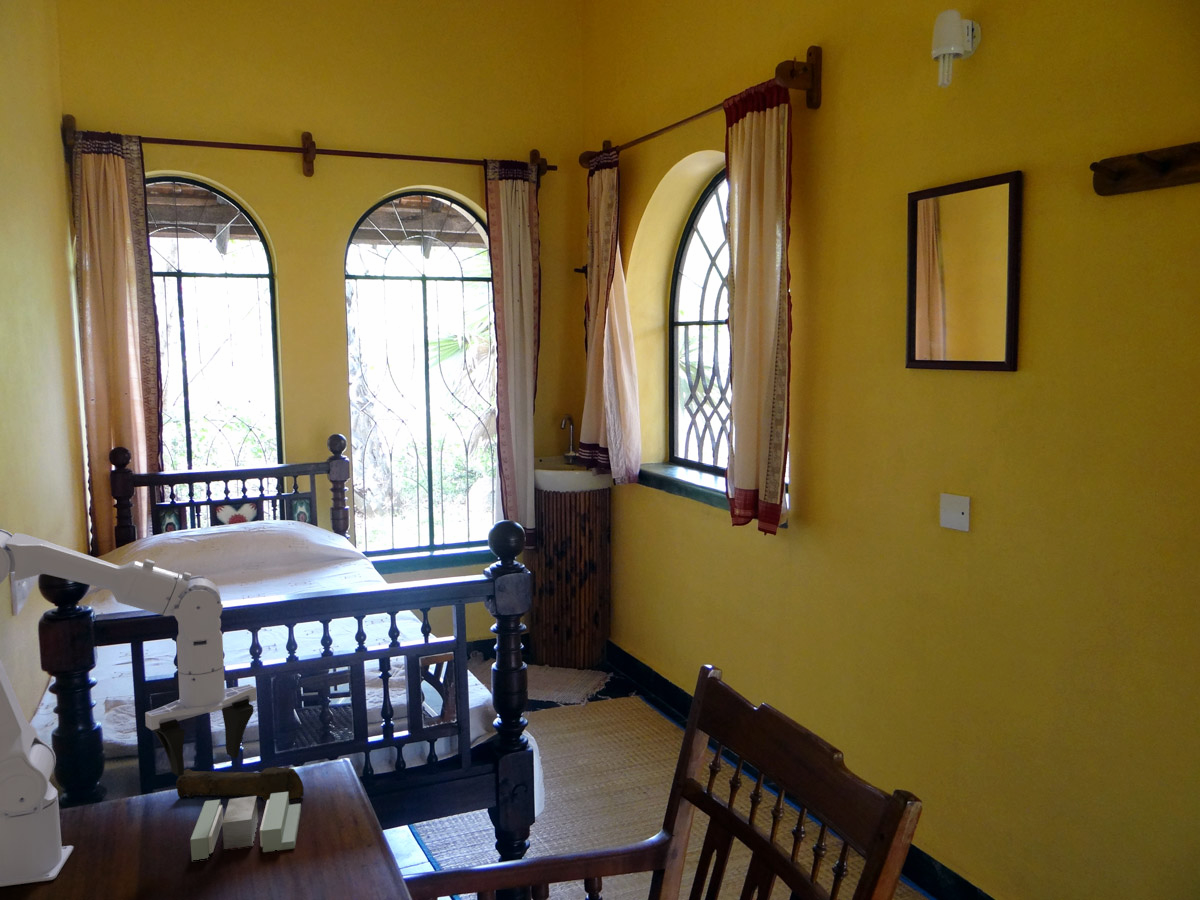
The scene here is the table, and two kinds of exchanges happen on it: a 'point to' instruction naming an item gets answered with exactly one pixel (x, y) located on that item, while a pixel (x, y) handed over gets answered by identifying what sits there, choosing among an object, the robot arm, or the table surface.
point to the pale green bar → (279, 823)
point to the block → (240, 822)
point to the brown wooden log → (241, 783)
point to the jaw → (207, 830)
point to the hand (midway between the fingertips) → (205, 764)
